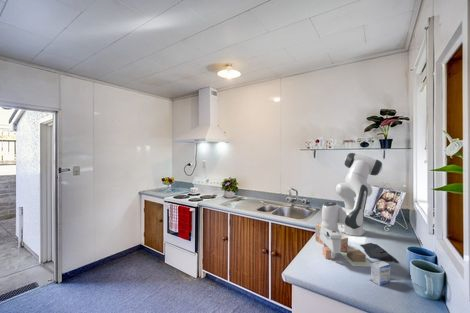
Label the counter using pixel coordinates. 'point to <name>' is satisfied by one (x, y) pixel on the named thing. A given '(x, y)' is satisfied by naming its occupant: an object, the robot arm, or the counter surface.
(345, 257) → the build plate
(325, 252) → the top brick
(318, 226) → the stack of blocks
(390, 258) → the dark slate chunk
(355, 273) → the counter surface
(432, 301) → the counter surface
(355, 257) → the base brick
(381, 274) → the medicine box
